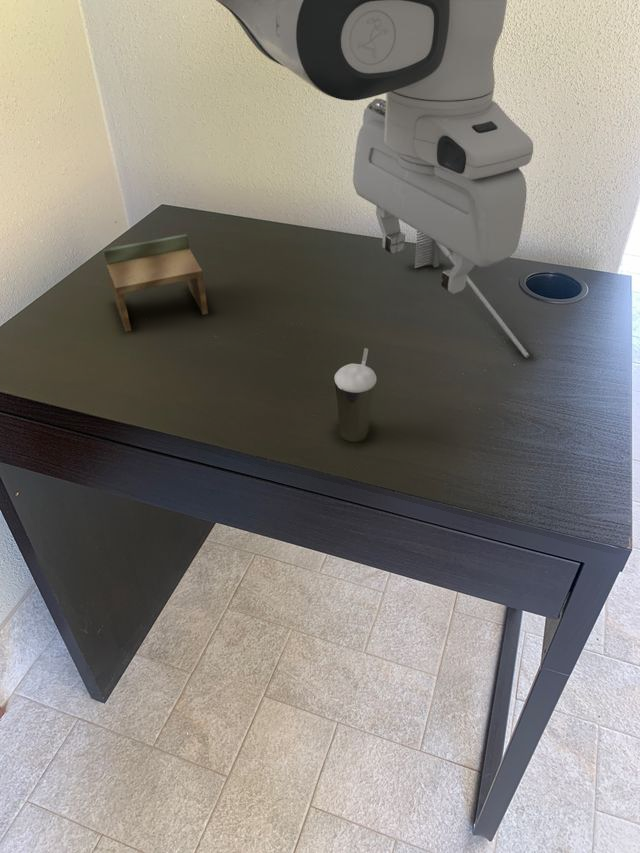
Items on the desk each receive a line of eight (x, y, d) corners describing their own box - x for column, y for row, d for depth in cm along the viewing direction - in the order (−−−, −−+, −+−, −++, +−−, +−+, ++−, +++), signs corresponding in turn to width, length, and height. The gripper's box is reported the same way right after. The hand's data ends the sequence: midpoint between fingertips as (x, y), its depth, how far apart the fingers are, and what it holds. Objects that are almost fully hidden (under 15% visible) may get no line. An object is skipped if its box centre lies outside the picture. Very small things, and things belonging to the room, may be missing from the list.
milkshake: (381, 422, 81) (385, 353, 74) (364, 450, 77) (367, 380, 71) (346, 412, 82) (347, 343, 76) (328, 439, 79) (327, 369, 72)
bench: (125, 331, 96) (112, 274, 90) (116, 304, 102) (102, 249, 96) (208, 313, 100) (200, 257, 94) (194, 288, 105) (186, 233, 99)
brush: (499, 387, 93) (510, 339, 86) (414, 268, 110) (417, 218, 102) (524, 379, 94) (536, 330, 87) (435, 261, 110) (440, 211, 103)
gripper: (338, 98, 64) (337, 237, 73) (489, 166, 51) (465, 324, 60) (393, 88, 66) (385, 223, 75) (550, 150, 53) (517, 304, 62)
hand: (421, 268), depth 67 cm, fingers open, 8 cm apart
